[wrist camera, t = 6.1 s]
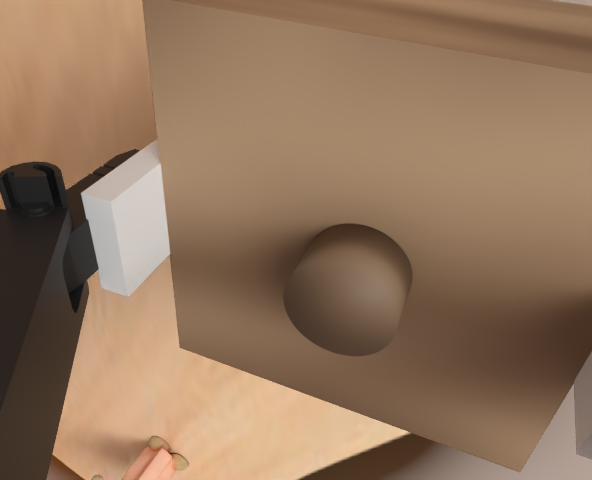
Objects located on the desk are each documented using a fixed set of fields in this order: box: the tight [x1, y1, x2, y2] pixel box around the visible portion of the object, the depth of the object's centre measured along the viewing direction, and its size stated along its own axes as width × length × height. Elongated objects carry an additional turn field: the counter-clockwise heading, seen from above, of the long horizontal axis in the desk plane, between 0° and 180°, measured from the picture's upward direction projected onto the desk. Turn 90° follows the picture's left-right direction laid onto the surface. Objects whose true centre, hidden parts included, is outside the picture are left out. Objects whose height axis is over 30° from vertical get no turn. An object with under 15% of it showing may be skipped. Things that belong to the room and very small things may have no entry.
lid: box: [142, 0, 592, 472], centre depth 13 cm, size 10×10×6 cm
